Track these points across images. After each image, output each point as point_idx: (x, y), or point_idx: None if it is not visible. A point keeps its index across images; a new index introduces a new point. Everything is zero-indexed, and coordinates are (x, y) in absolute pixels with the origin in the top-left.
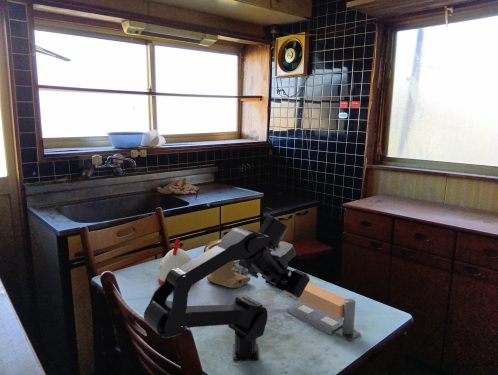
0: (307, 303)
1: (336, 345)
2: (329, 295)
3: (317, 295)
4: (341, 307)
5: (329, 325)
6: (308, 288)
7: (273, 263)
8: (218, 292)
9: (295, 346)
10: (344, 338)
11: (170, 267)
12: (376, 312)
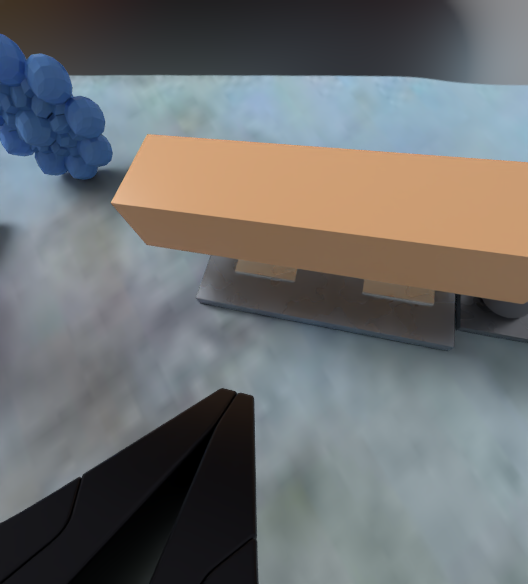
0: (295, 267)
1: (521, 409)
2: (431, 189)
3: (372, 232)
4: None
5: (416, 302)
6: (275, 194)
7: None
8: None
9: (381, 551)
10: (512, 339)
11: None
12: (474, 120)
